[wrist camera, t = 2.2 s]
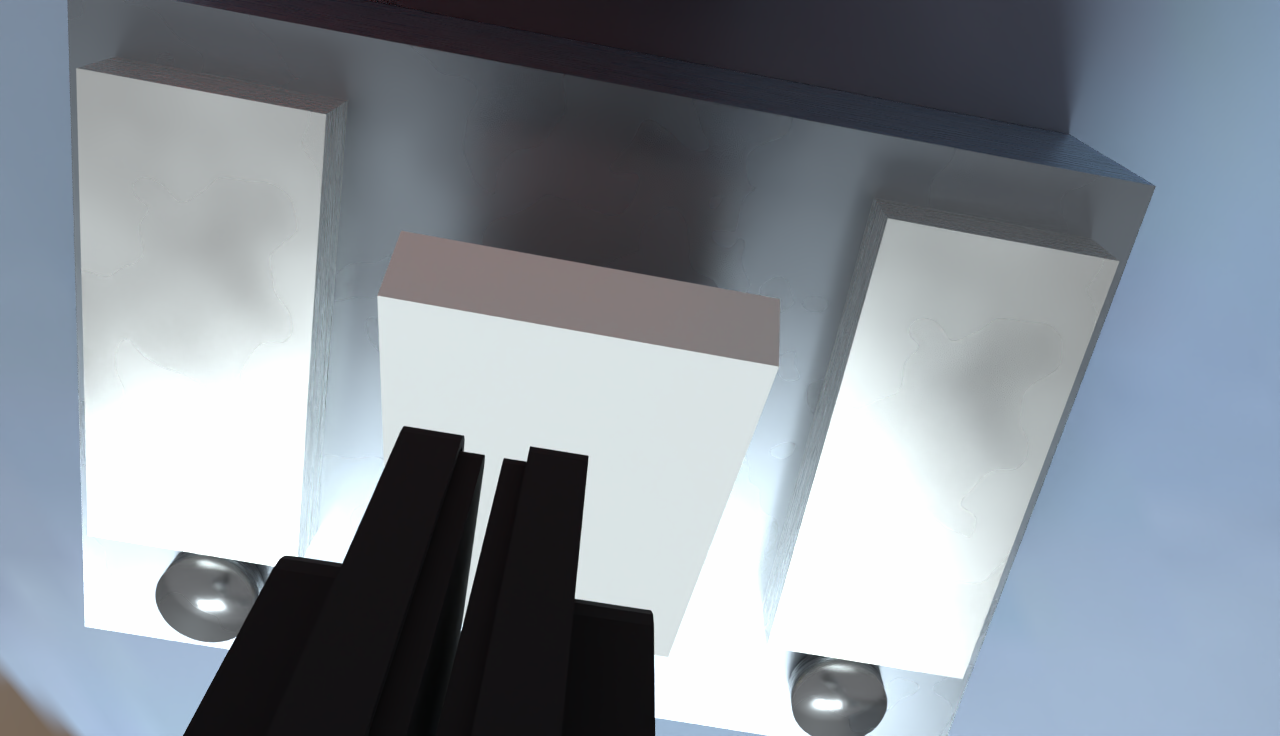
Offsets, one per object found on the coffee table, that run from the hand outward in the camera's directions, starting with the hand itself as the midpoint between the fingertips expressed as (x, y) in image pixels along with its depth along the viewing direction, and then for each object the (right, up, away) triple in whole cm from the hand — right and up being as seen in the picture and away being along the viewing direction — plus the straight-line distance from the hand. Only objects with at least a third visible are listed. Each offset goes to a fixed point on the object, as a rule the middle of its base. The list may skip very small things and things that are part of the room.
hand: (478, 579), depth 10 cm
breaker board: (0, +3, +13) cm, 13 cm away
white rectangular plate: (0, +1, +7) cm, 7 cm away
